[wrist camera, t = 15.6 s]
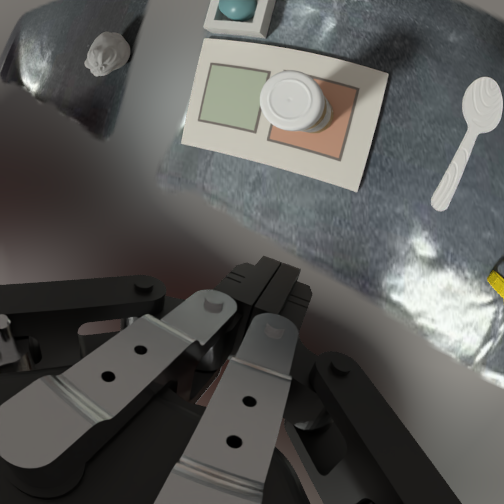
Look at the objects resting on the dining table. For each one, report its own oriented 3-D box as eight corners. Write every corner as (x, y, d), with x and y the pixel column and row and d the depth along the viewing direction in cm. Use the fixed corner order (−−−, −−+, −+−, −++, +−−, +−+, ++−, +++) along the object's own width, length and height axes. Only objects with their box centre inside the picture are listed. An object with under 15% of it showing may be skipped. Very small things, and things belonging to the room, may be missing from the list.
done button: (261, -5, 29) (255, -12, 27) (253, 23, 31) (247, 17, 29) (230, -6, 30) (223, -13, 28) (222, 20, 31) (215, 15, 29)
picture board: (388, 75, 29) (388, 73, 29) (357, 191, 35) (357, 192, 34) (207, 39, 34) (204, 38, 33) (184, 143, 39) (180, 143, 39)
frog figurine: (110, 85, 40) (77, 82, 33) (107, 45, 38) (74, 38, 31) (142, 71, 38) (109, 65, 31) (138, 29, 36) (106, 19, 29)
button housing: (278, -10, 29) (273, -18, 27) (265, 38, 32) (259, 32, 30) (225, -13, 30) (217, -20, 28) (212, 33, 33) (203, 27, 31)
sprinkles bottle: (286, 103, 33) (248, 84, 21) (324, 88, 31) (305, 59, 19) (303, 140, 34) (273, 140, 22) (341, 125, 32) (333, 116, 20)
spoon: (416, 198, 33) (417, 198, 33) (473, 67, 26) (475, 66, 25) (452, 220, 33) (453, 221, 32) (508, 92, 25) (510, 92, 24)
